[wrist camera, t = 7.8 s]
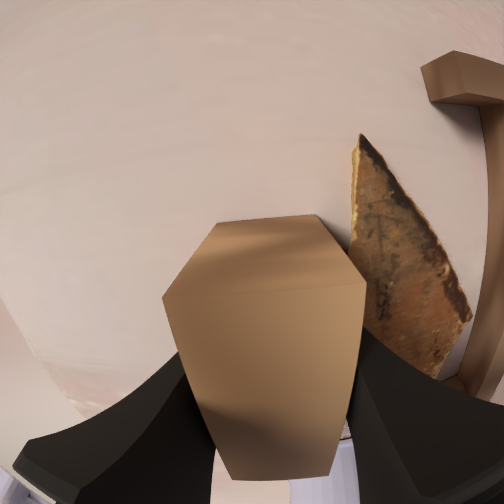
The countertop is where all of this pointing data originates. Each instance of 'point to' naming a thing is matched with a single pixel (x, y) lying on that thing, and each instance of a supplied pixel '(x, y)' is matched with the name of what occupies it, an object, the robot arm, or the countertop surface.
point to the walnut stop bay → (500, 210)
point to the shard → (402, 268)
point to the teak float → (270, 343)
